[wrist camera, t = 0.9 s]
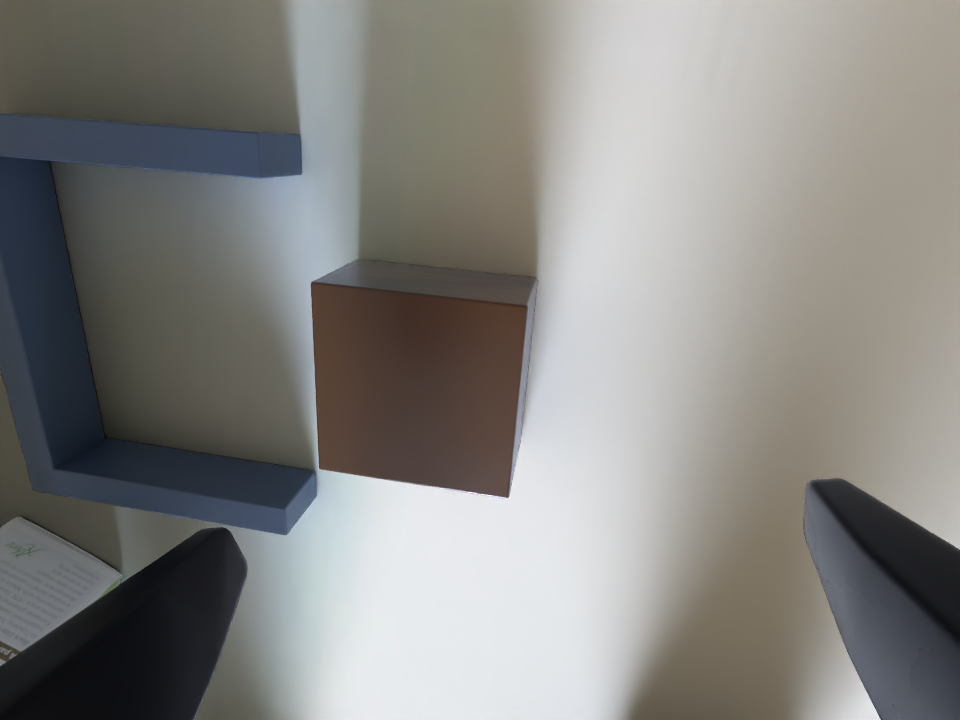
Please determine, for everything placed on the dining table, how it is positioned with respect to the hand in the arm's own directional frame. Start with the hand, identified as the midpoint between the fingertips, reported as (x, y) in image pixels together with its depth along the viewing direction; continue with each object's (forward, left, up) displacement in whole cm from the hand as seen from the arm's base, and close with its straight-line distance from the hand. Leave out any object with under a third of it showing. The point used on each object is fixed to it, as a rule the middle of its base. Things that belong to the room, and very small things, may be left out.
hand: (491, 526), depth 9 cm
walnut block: (+3, +1, -10) cm, 11 cm away
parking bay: (+13, +1, -10) cm, 17 cm away
